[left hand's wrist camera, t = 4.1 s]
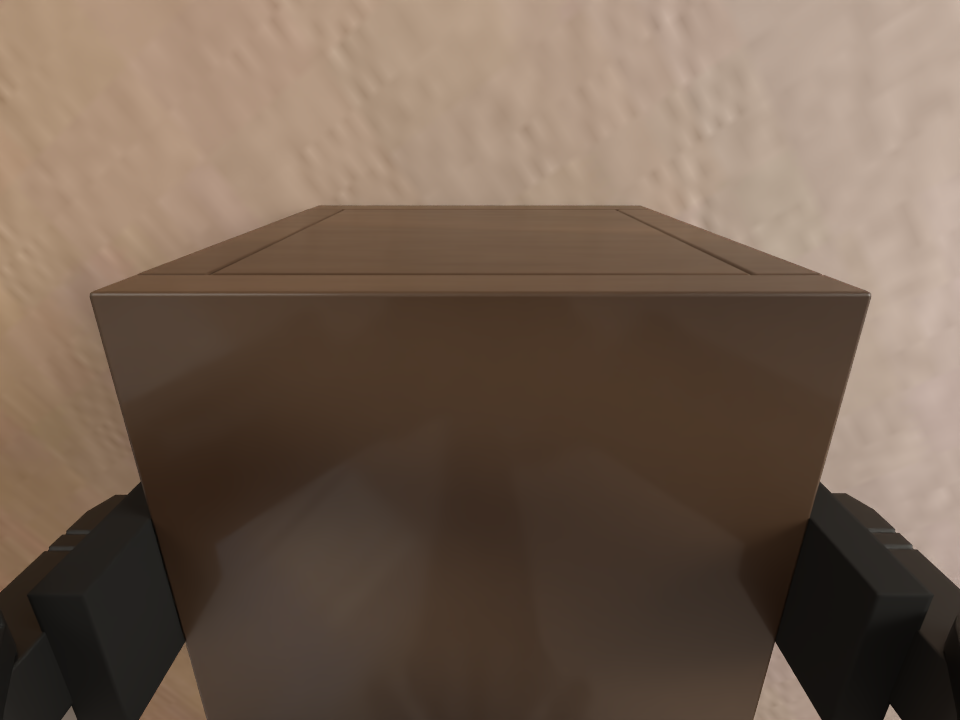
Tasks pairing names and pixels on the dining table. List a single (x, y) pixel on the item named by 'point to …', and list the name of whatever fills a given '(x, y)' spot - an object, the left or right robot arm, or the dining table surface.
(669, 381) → the cabinet
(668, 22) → the dining table surface
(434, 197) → the dining table surface
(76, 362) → the dining table surface
